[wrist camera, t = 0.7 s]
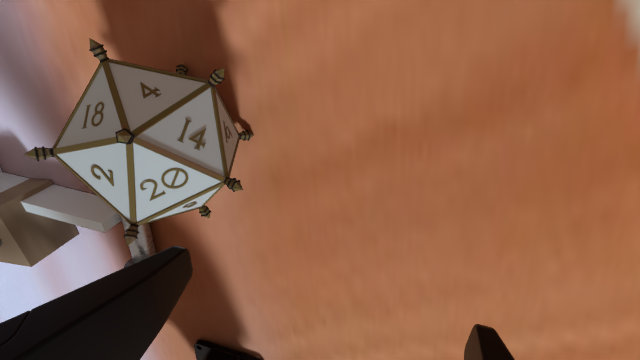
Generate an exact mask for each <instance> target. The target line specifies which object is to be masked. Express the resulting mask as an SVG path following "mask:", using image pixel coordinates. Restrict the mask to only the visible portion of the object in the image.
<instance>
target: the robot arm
mask: <svg viewBox="0 0 640 360" xmlns="http://www.w3.org/2000/svg"><path fill="white" fill-rule="evenodd" d="M192 271H193V269H192V263H191V257H190V252H189V250H188V249H186V248H183V247H179V246H172V247H170V248H168V249H165V250H163V251H161V252H159V253H157V254H154V255H152V256H150V257H148V258H145V259H143V260H141V261H139V262H136V263H134V264H132V265H130V266H128V267H125V268H123V269H121V270H119V271H116V272H114V273H112V274H110V275H107V276H105V277H103V278H101V279H99V280H96V281H94V282H92V283H90V284H87V285H85V286H83V287H81V288H78V289H76V290H74V291H72V292H70V293H67V294H65V295H63V296H61V297H58V298H56V299H54V300H52V301H49V302H47V303H45V304H43V305H40V306H38V307H36V308H34V309H32V310H31V311H27V312H25V313H22V314H20V315H18V316H16V317H14V318H11V319H9V320H7V321H4V322H2V323H0V360H140V359H141V357H142V356H143V354H144V353H145V352H146V350H147V349H148V347H149V346H150V344H151V343H152V342H153V340H154V339H155V337H156V336H157V334H158V333H159V332H160V330H161V329H162V327H163V326H164V324H165V322H166V321H167V319H168V317H169V316H170V314H171V312H172V310H173V309H174V307H175V305H176V303H177V301H178V300H179V298H180V296H181V294H182V293H183V291H184V289H185V287H186V286H187V284H188V282H189V280H190V278H191V276H192ZM194 348H195V353H196V359H197V360H259V359H256V358H253V357H250V356H247V355H244V354H241V353H238V352H235V351H232V350H229V349H226V348H223V347H220V346H217V345H214V344H211V343H208V342H205V341H202V340H197V341H196V343H195V344H194ZM464 360H515V359H514V358H513V356H512V355H511V353H510V352H509V350H508V349H507V347H506V346H505V344H504V343H503V341H502V340H501V338H500V336H499V335H498V333H497V332H496V331H495V330H494V329H493V328H491V327H488V326H484V325H480V324H476V325H474V327H473V329H472V331H471V334H470V336H469V338H468V341H467V343H466V346H465V352H464Z"/></svg>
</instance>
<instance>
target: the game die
mask: <svg viewBox="0 0 640 360" xmlns="http://www.w3.org/2000/svg"><path fill="white" fill-rule="evenodd" d="M89 39H90V38H89ZM103 46H104V45H101V44H99V43H97V42H96V41H94V40H92V39H90V51H92V52H93V54H94V55H93V56H94V57H97V58H98V59H99V60H100V64H99V66H98V67H97V69H96V71H95V73H94V75H93V76H92V78H91V80H90V82H89V84H88V85H87V87H86V89H85V91H84V93H83V94H82V96H81V98H80V100H79V102H78V103H77V105H76V107H75V109H74V111H73V112H72V114H71V116H70V118H69V119H68V121H67V123H66V125H65V127H64V128H63V130H62V132H61V134H60V136H59V137H58V139H57V141H56V143H55V145H54V146H53V148H44V146H43V147H42V148H37V147H35V148H34V149H32V150H31V151H29V152H27V153H26V154H24V155H26V156H28V157H31V158H34V159H37V161H39V159H45V160H46V158H49V157H55V158H56V159H57V160H58V161H59V162H61V163H62V164H63V165H64V166H65V167H66V168H67V169H68V170H70V171H71V172H72V173H73V174H74V175H75V176H76V177H77V178H78V179H80V180H81V181H82V182H83V183H84V184H85V185H86V186H87V187H89V188H90V189H91V190H92V191H93V192H94V193H95V194H96V195H97V196H99V197H100V198H101V199H102V200H103V201H104V202H105V203H106V204H108V205H109V206H110V207H111V208H112V209H113V210H114V211H115V212H116V213H118V214H119V215H120V216H121V217H122V218H123V219H124V220H125V221H127V222H128V223H129V224H130V227H129V228H128V229H126V234H125V235H124V237H125V240H126V243H127V246H129V245H130V244H131V243H132V242H133V241H134V240H136V239H138V237H137V235H138V234H139V232H138V227H139V226H140V225H143V224H147V223H150V222H154V221H157V220H160V219H164V218H167V217H171V216H174V215H178V214H181V213H185V212H188V211H191V210H195V209H198V208H199V210H200V211H199V213H201V216H204V217H208V218H210V212H211V211H210V210H209V208H208V207H207V206H205V204H206V203H207V202H208V201H209V200H210V199H211V198H212V197H213V196H214V195H215V194H216V193H217V192H218V191H219V190H220V189H221V188H222V187H223V186H224V185H225V184H226V185H227V187H228V188H229V189H232V190H233V192H235V191H238V190H243V188H242V186H241V184H240V180H238V181H237V180H236V178H233V179H232V178H229V177H230V173H231V170H232V166H233V162H234V158H235V154H236V151H237V147H238V143H239V140H240V139H242V140H244V141H245V140H249V139H250V138H251V137H252V136H253V134H252V133H250V132H249V131H248V130H247V131H245V132H244V131H242V132H241V133H238V131H237V129H236V127H235V125H234V123H233V121H232V119H231V117H230V115H229V113H228V111H227V109H226V107H225V105H224V103H223V101H222V99H221V98H220V96H219V94H218V92H217V90H216V88H215V85H216V84H218V83H219V84H221V81H222V80H225V79H224V68H223V69H219V70H214V72H213V74H211V75H210V79H209V80H205V79H201V78H196V77H191V76H187V75H186V73H187V70H188V68H187V67H186V65H185V63H183V64H181V65H179V66H177V69H176V72H177V73H173V72H168V71H164V70H159V69H154V68H150V67H145V66H140V65H136V64H131V63H126V62H122V61H117V60H113V59H109V58H108V57H107V54H106V52H107V50H104V48H103Z"/></svg>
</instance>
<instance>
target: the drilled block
mask: <svg viewBox="0 0 640 360" xmlns="http://www.w3.org/2000/svg"><path fill="white" fill-rule="evenodd" d="M52 185H54V184H53V182H52V180H44V179H28V180H26V181H24V182H22V183H20V184H18V185H16V186H13V187H11V188H9V189H7V190H5V191H3V192H1V193H0V262H5V263H11V264H17V265H24V266H30V267H32V266H33V265H35V264H36V263H38V262H39V261H41V260H42V259H43V258H45V257H46V256H48V255H49V254H51V253H52V252H54V251H55V250H56V249H58V248H59V247H61V246H62V245H64V244H65V243H67V242H68V241H70V240H71V239H72V238H74V237H75V236H77V235H78V234H79V232H78V231H77V229H76V227H75V225H74V224H70V223H67V222H63V221H59V220H56V219H52V218H48V217H45V216H41V215H37V214H34V213H30V212H27V211H26V210H25V208H24V207H23V205H22V203H21V201H23V200H25V199H27V198H29V197H31V196H32V195H34V194H36V193H38V192H40V191H42V190H44V189H46V188H48V187H50V186H52Z"/></svg>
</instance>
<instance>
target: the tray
mask: <svg viewBox="0 0 640 360" xmlns="http://www.w3.org/2000/svg"><path fill="white" fill-rule="evenodd" d="M28 179H29V178H25V177H21V176H17V175H13V174H9V173H5V172H2V169H1V167H0V193H1V192H3V191H5V190H7V189H9V188H11V187H13V186H16V185H18V184H20V183H22V182H24V181H26V180H28ZM21 203H22V205H23V207H24V208H25V210H26V211H27V212H30V213H34V214H37V215H41V216H45V217H48V218H52V219H56V220H59V221H63V222H67V223H70V224H74V225H77V226H81V227H85V228H88V229H92V230H96V231H99V232H103V233H105V232H107V231H108V230H109V229H111V228H112V227H114V226H115V225H116V224H118V223H119V222H120V221H122V219H121V216H120V215H119V214H118V213H116V212H115V211H114V210H113V209H112V208H111V207H110V206H109V205H108V204H106V203H105V202H104V201H103V200H102V199H101V198H100V197H99V196H97V195H94V194H90V193H86V192H82V191H78V190H74V189H70V188H65V187H61V186H57V185H52V186H50V187H48V188H46V189H44V190H42V191H40V192H38V193H36V194H34V195H32V196H31V197H29V198H27V199H25V200H23V201H21Z"/></svg>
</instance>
